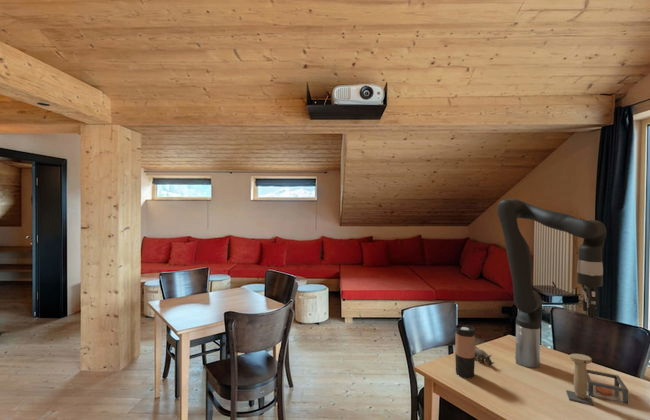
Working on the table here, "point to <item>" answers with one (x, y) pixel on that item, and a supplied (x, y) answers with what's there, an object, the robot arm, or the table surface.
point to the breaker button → (604, 390)
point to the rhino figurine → (483, 356)
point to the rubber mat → (574, 398)
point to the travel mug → (465, 351)
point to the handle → (580, 374)
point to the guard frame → (616, 395)
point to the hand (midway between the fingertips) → (588, 314)
